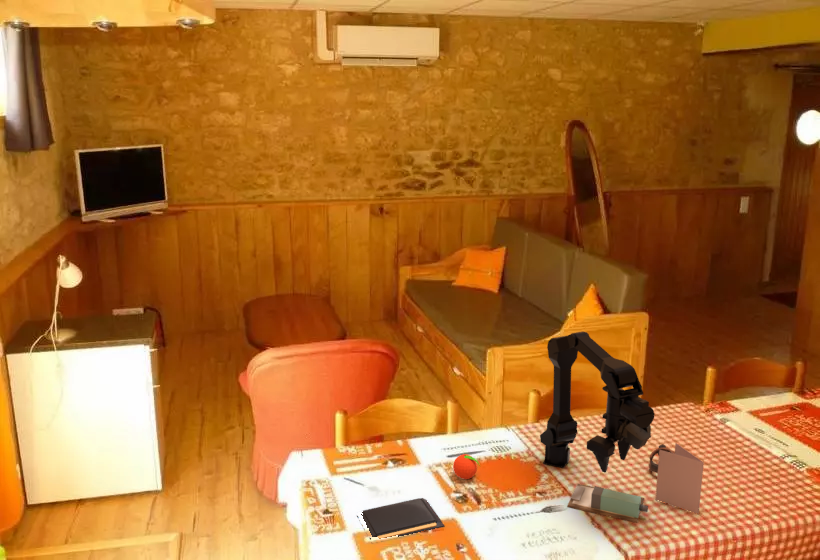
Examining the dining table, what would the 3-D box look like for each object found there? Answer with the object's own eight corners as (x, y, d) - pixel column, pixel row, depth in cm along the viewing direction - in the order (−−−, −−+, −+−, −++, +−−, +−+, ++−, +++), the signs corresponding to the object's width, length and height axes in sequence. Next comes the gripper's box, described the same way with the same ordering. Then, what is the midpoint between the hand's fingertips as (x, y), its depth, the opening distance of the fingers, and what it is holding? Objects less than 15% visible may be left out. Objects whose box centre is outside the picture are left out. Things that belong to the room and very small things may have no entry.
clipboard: (567, 506, 191) (567, 502, 190) (577, 485, 201) (577, 481, 201) (637, 522, 183) (637, 518, 183) (644, 499, 194) (644, 495, 193)
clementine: (483, 475, 208) (484, 452, 206) (475, 486, 201) (476, 463, 200) (458, 469, 211) (458, 447, 209) (449, 480, 205) (449, 458, 203)
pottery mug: (691, 481, 204) (682, 461, 200) (659, 492, 206) (649, 473, 203) (678, 451, 214) (669, 433, 211) (648, 462, 217) (638, 444, 213)
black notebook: (425, 493, 196) (445, 523, 182) (425, 499, 196) (446, 530, 182) (354, 507, 190) (370, 539, 176) (354, 513, 190) (370, 546, 176)
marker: (590, 507, 189) (591, 493, 188) (594, 499, 192) (594, 486, 191) (645, 520, 183) (647, 505, 182) (648, 511, 186) (649, 497, 185)
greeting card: (701, 513, 187) (706, 461, 183) (677, 518, 185) (681, 466, 181) (674, 491, 197) (678, 442, 194) (650, 496, 195) (654, 446, 192)
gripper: (627, 433, 173) (622, 491, 177) (664, 410, 185) (659, 464, 189) (587, 419, 181) (583, 474, 185) (625, 397, 193) (621, 449, 197)
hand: (613, 465), depth 189 cm, fingers open, 9 cm apart
